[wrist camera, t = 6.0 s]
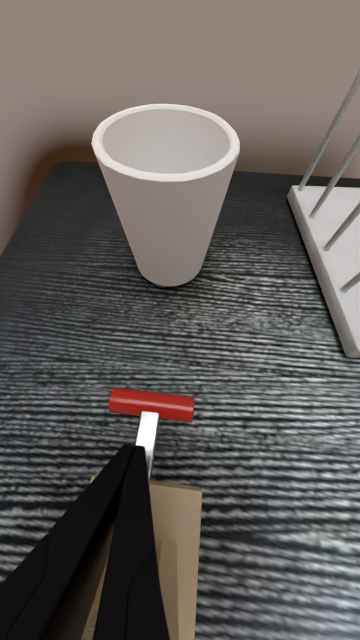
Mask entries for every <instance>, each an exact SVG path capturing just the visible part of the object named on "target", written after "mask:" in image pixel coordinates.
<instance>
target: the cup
mask: <svg viewBox="0 0 360 640" xmlns="http://www.w3.org/2000/svg"><path fill="white" fill-rule="evenodd" d="M239 144H240V142H239V139H238V136H237V134H236V132H235V131H234V130H233V128H231V126H229V124H228V123H227V122H226V121H224V120H223V119H221V118H220V117H218V116H217V115H215V114H213V113H210V112H207V111H204V110H202V109H198V108H194V107H189V106H184V105H174V104H149V105H143V106H137V107H133V108H130V109H126V110H123V111H121V112H118V113H116V114H114V115H112V116H110V117H109V118H107V119H106V120H104V121H103V122H101V123H100V124H99V126H98V127H97V129H96V130H95V132H94V134H93V139H92V146H93V149H94V152H95V155H96V157H97V160H98V163H99V165H100V168H101V170H102V173H103V176H104V178H105V181H106V184H107V186H108V189H109V192H110V194H111V197H112V200H113V202H114V205H115V208H116V210H117V213H118V215H119V218H120V221H121V223H122V226H123V229H124V231H125V234H126V237H127V239H128V242H129V245H130V247H131V250H132V253H133V255H134V258H135V260H136V263H137V266H138V268H139V271H140V272H141V274H142V275H143V277H144V278H146V279H147V280H149V281H150V282H152V283H153V284H155V285H156V286H158V287H161V288H163V287H170V286H178V285H181V284H186V283H190V282H191V281H192V280H193V279H194V278H195V277H196V275H197V274H198V273H199V271H200V269H201V267H202V265H203V262H204V259H205V255H206V252H207V249H208V246H209V243H210V240H211V237H212V234H213V231H214V228H215V225H216V222H217V219H218V216H219V213H220V210H221V207H222V204H223V201H224V197H225V194H226V191H227V188H228V185H229V182H230V179H231V176H232V173H233V170H234V167H235V164H236V161H237V157H238V155H239V151H240V150H239V149H240V145H239Z"/></svg>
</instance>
